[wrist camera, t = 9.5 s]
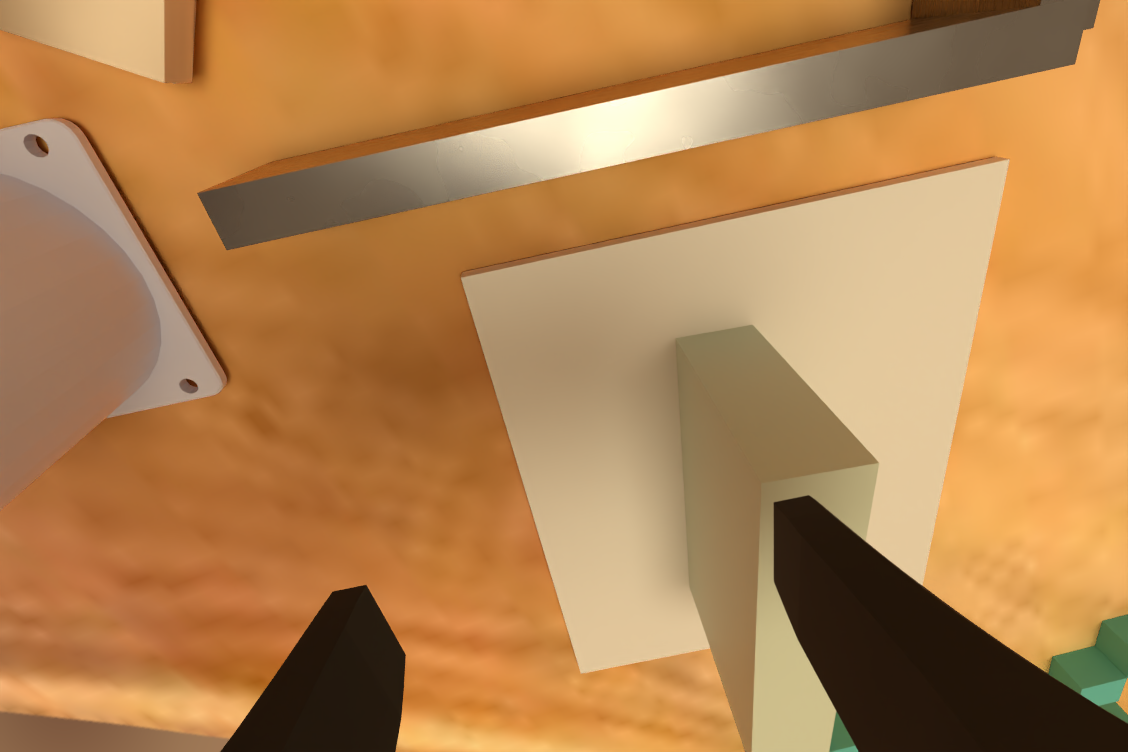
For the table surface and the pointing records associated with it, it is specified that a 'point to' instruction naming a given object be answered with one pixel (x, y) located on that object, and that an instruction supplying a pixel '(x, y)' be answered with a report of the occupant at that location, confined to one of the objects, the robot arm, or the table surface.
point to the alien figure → (1068, 675)
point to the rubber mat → (717, 302)
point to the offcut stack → (112, 32)
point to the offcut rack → (652, 116)
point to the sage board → (759, 522)
